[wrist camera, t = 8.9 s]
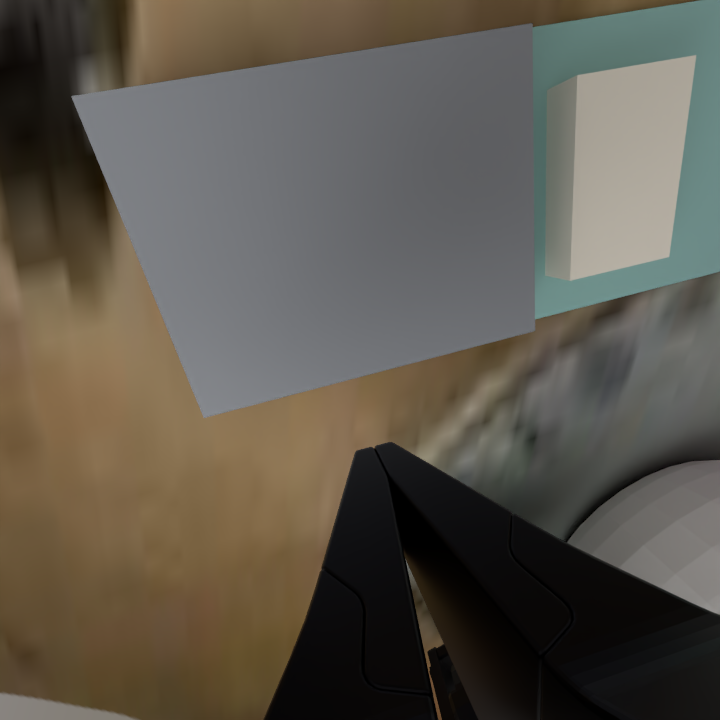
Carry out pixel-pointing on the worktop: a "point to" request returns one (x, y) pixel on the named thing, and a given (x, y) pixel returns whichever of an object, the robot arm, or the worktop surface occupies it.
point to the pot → (663, 531)
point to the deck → (329, 209)
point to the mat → (701, 149)
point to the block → (614, 166)
